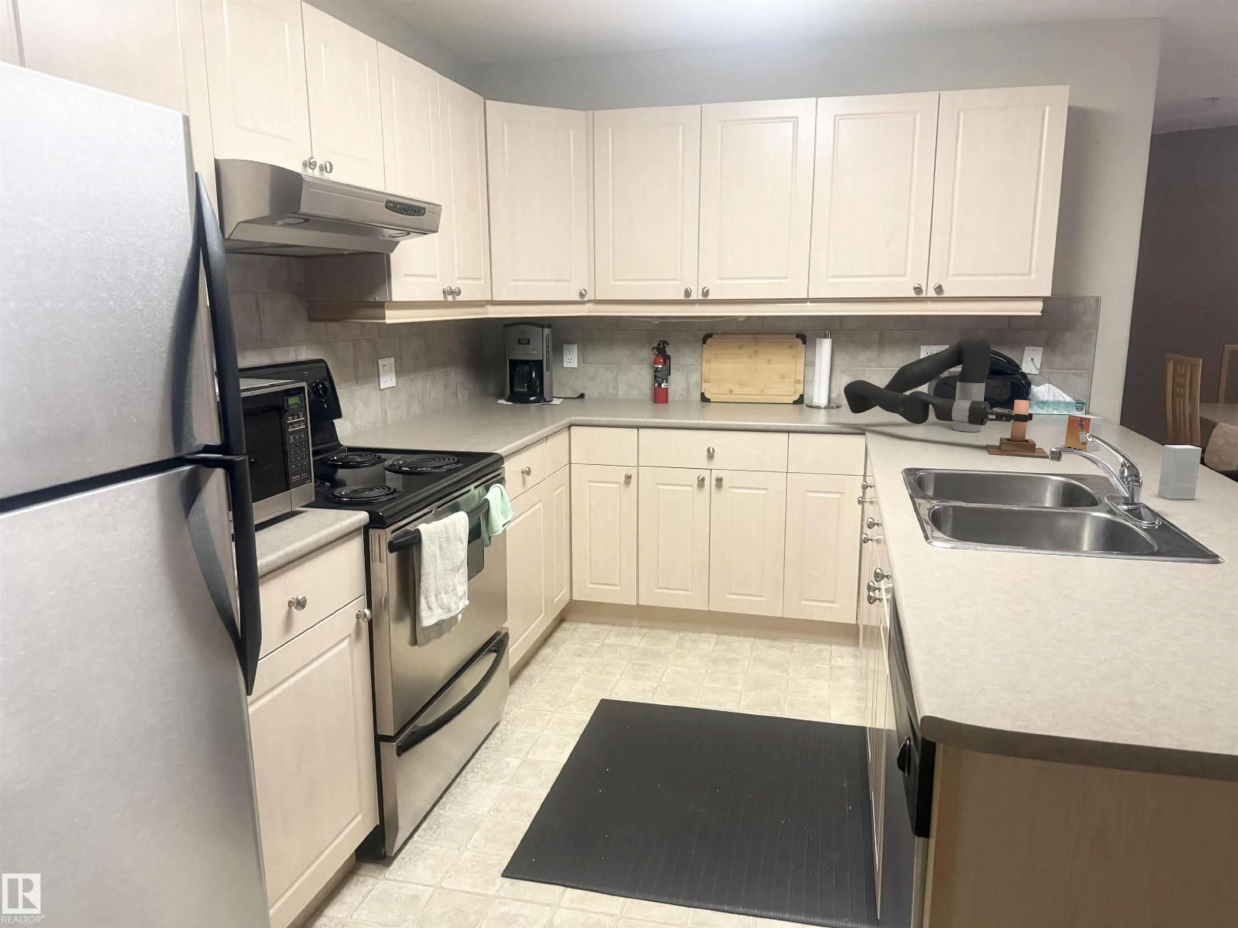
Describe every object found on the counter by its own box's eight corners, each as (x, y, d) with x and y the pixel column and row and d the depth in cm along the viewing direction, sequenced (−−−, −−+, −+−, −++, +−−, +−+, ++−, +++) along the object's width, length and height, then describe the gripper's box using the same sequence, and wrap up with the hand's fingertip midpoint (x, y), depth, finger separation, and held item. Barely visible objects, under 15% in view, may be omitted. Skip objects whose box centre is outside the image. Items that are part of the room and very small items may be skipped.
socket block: (985, 446, 252) (986, 435, 252) (1042, 450, 247) (1043, 438, 246) (989, 454, 238) (990, 442, 237) (1049, 458, 232) (1051, 446, 232)
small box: (1063, 447, 253) (1067, 414, 251) (1076, 446, 255) (1081, 413, 253) (1086, 451, 246) (1090, 417, 244) (1099, 450, 248) (1104, 417, 246)
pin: (1009, 438, 244) (1014, 399, 242) (1024, 439, 243) (1028, 400, 240) (1010, 440, 240) (1015, 400, 238) (1025, 441, 239) (1030, 401, 237)
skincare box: (1181, 495, 186) (1189, 445, 184) (1194, 499, 182) (1203, 448, 180) (1155, 495, 186) (1163, 444, 184) (1168, 499, 182) (1176, 447, 180)
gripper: (976, 422, 255) (1035, 428, 244) (961, 426, 245) (1022, 432, 234) (979, 398, 254) (1038, 403, 243) (964, 402, 243) (1025, 407, 232)
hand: (1030, 417), depth 239 cm, fingers closed on pin, 4 cm apart
